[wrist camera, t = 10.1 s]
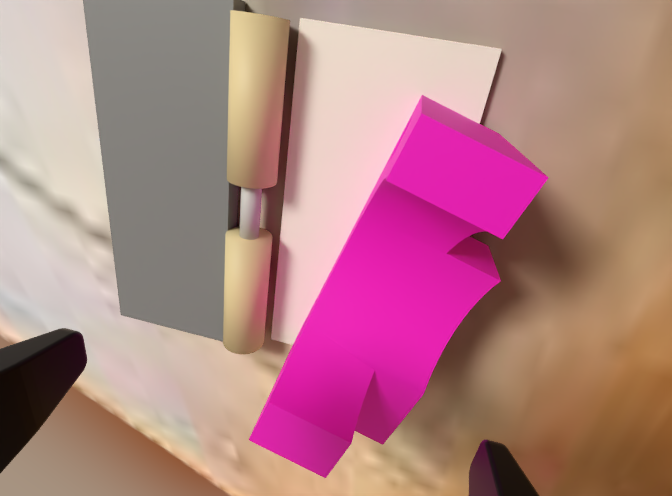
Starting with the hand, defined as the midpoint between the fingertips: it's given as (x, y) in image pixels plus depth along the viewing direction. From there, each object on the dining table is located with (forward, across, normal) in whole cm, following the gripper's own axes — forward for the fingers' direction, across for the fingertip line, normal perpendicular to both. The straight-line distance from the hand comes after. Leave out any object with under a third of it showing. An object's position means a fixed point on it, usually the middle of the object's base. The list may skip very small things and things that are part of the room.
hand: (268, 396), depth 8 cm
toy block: (+13, -3, +2) cm, 13 cm away
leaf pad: (+13, 0, +1) cm, 13 cm away
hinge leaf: (+13, +9, +1) cm, 16 cm away
